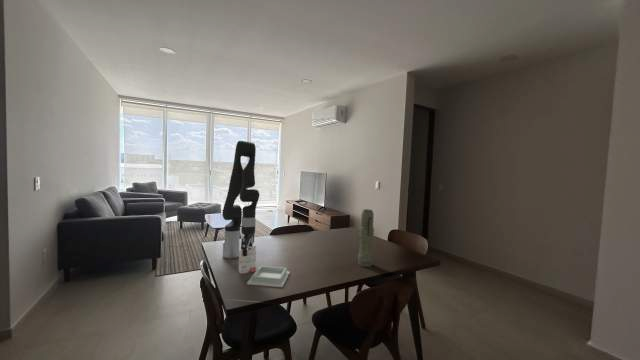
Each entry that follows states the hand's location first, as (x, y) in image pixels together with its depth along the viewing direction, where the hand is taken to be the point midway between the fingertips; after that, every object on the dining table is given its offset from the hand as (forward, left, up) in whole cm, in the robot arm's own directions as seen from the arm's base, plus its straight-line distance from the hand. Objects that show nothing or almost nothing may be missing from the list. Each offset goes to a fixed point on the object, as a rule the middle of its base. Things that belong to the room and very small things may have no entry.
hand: (247, 253), depth 148 cm
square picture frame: (+15, -7, -10) cm, 19 cm away
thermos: (+68, +25, -10) cm, 73 cm away
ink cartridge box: (0, 0, -10) cm, 10 cm away
